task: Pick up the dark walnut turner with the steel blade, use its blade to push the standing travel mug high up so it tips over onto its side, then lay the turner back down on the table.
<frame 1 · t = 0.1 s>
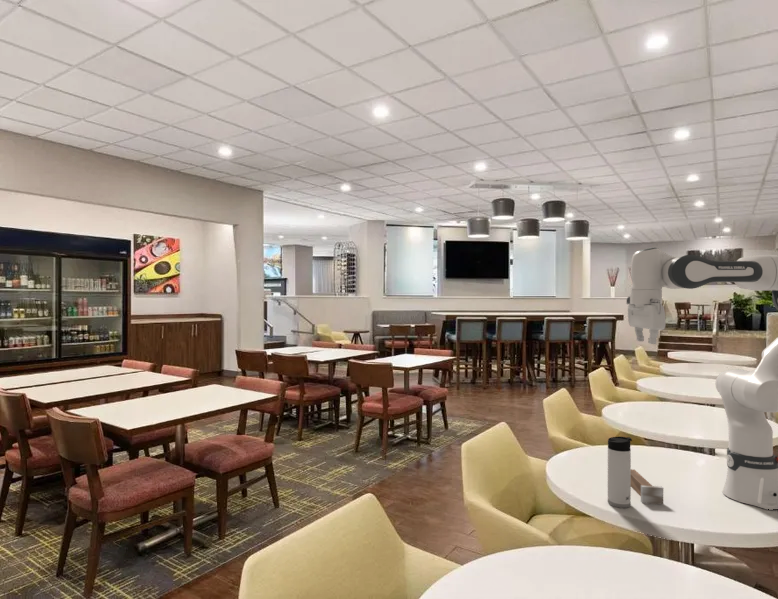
hand: (646, 342, 155), 48 cm above the table, tool pointing down, fingers open, 8 cm apart
walnut turner: (640, 491, 157), on the table
travel mug: (619, 504, 147), on the table
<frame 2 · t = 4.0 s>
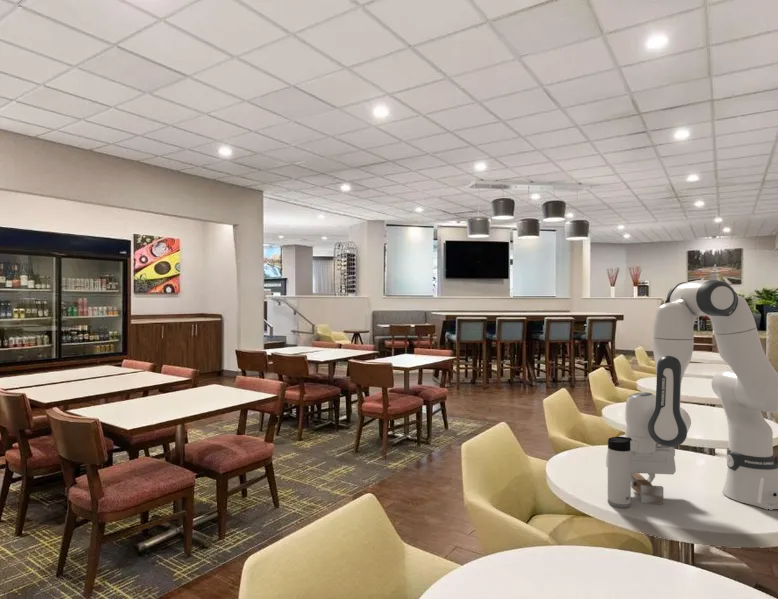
hand: (640, 486, 157), 2 cm above the table, tool pointing down, fingers closed on walnut turner, 3 cm apart
walnut turner: (640, 491, 157), on the table, touching gripper
everything else where it was.
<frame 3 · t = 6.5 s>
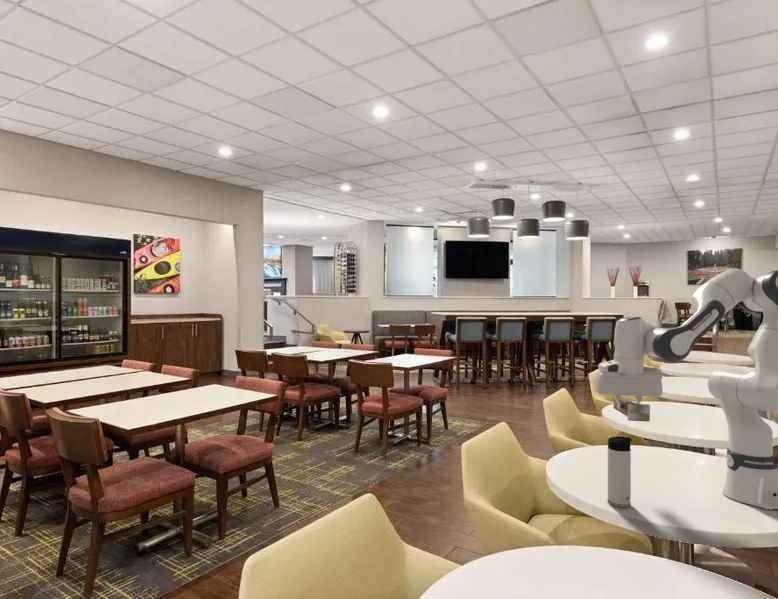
hand: (627, 409, 159), 26 cm above the table, tool pointing down, fingers closed on walnut turner, 3 cm apart
walnut turner: (627, 414, 159), point 24 cm above the table, touching gripper
everything else where it was.
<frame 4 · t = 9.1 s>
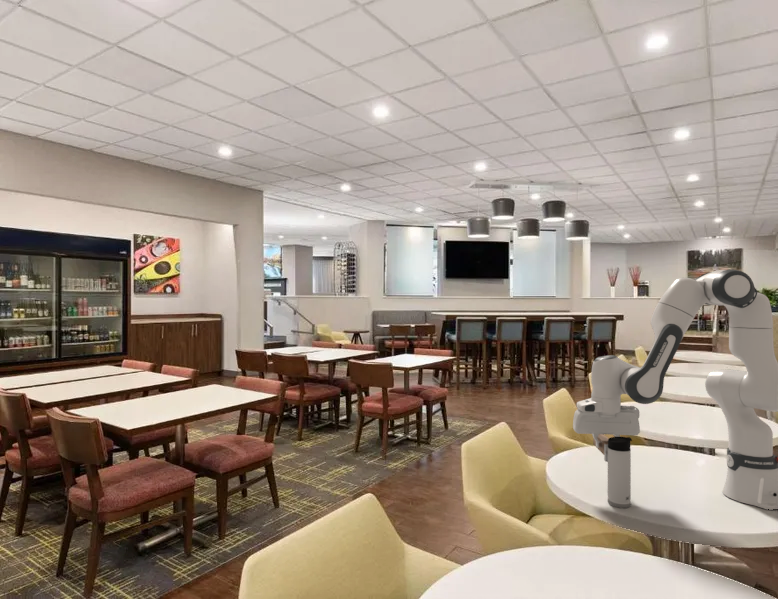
hand: (605, 447, 160), 13 cm above the table, tool pointing down, fingers closed on walnut turner, 3 cm apart
walnut turner: (606, 452, 160), point 11 cm above the table, touching gripper
everything else where it was.
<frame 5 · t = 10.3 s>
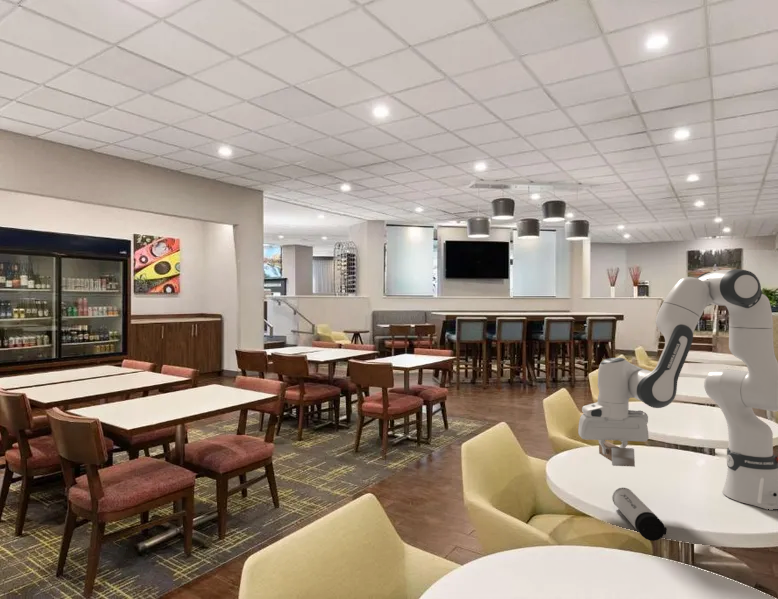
hand: (612, 453, 153), 13 cm above the table, tool pointing down, fingers closed on walnut turner, 3 cm apart
walnut turner: (613, 459, 153), point 11 cm above the table, tilted 6°, touching gripper
travel mug: (623, 497, 144), point 3 cm above the table
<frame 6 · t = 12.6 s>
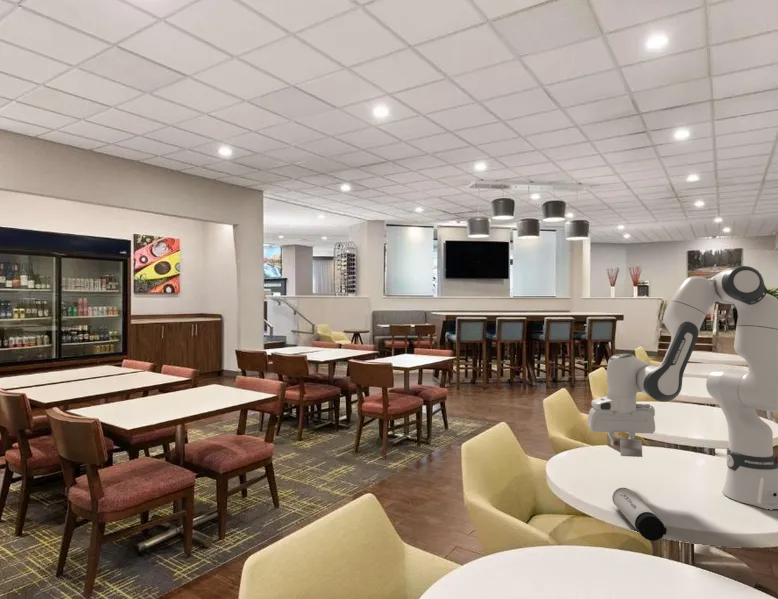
hand: (621, 445, 160), 14 cm above the table, tool pointing down, fingers closed on walnut turner, 3 cm apart
walnut turner: (621, 450, 160), point 12 cm above the table, tilted 7°, touching gripper
everything else where it was.
when the fingers open (3 cm above the table, at t = 14.6 s): walnut turner drops 1 cm, on the table.
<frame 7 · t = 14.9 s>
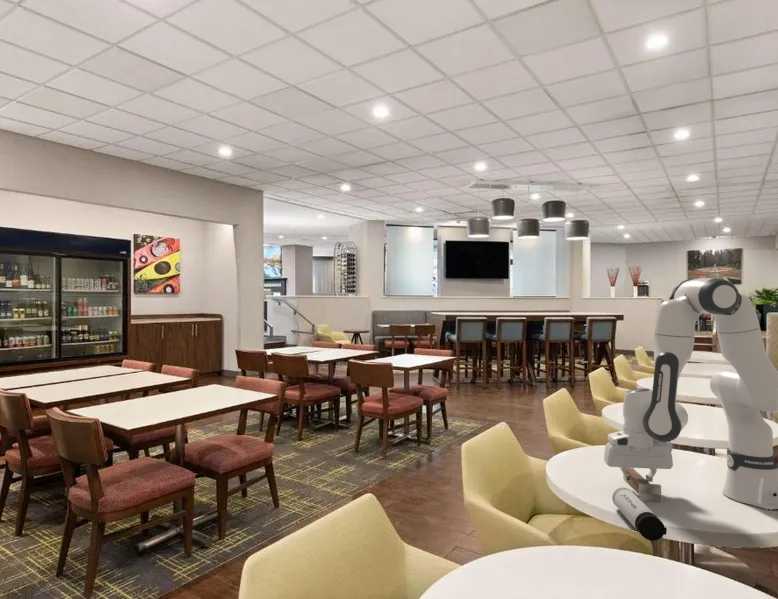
hand: (638, 480, 159), 3 cm above the table, tool pointing down, fingers open, 5 cm apart
walnut turner: (638, 489, 158), on the table
everything else where it was.
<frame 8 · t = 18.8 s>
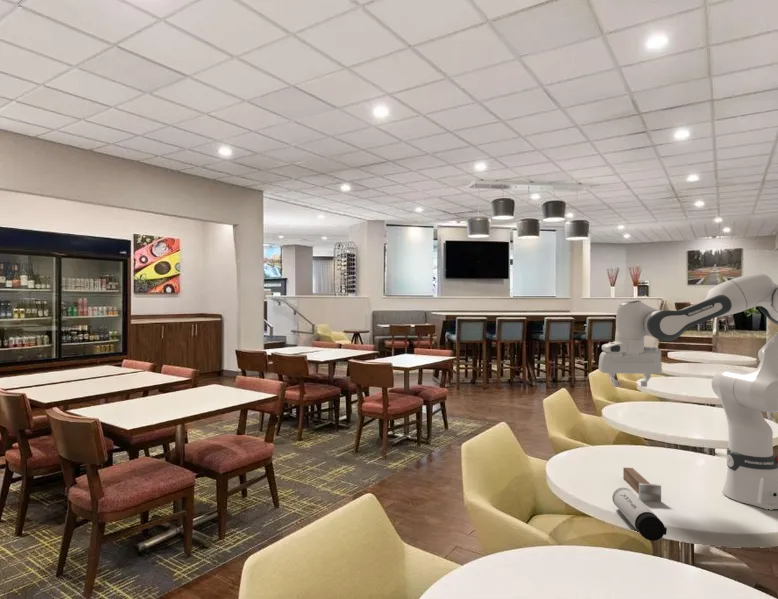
hand: (629, 386, 171), 31 cm above the table, tool pointing down, fingers open, 8 cm apart
nothing on the table moved.
at the end: travel mug tilted 90°; the gripper is holding nothing; walnut turner on the table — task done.
